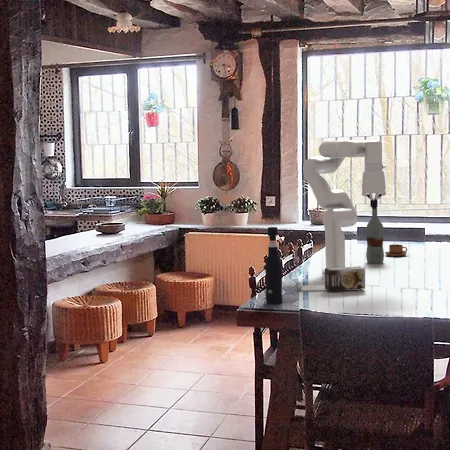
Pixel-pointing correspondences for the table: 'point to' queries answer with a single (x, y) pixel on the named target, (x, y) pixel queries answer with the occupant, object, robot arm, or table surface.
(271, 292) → the wine bottle
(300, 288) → the pale green rectangular board
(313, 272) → the table surface
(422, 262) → the table surface
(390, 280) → the table surface
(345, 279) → the coffee box
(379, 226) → the vodka
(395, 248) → the cup and saucer
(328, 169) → the robot arm
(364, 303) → the table surface
